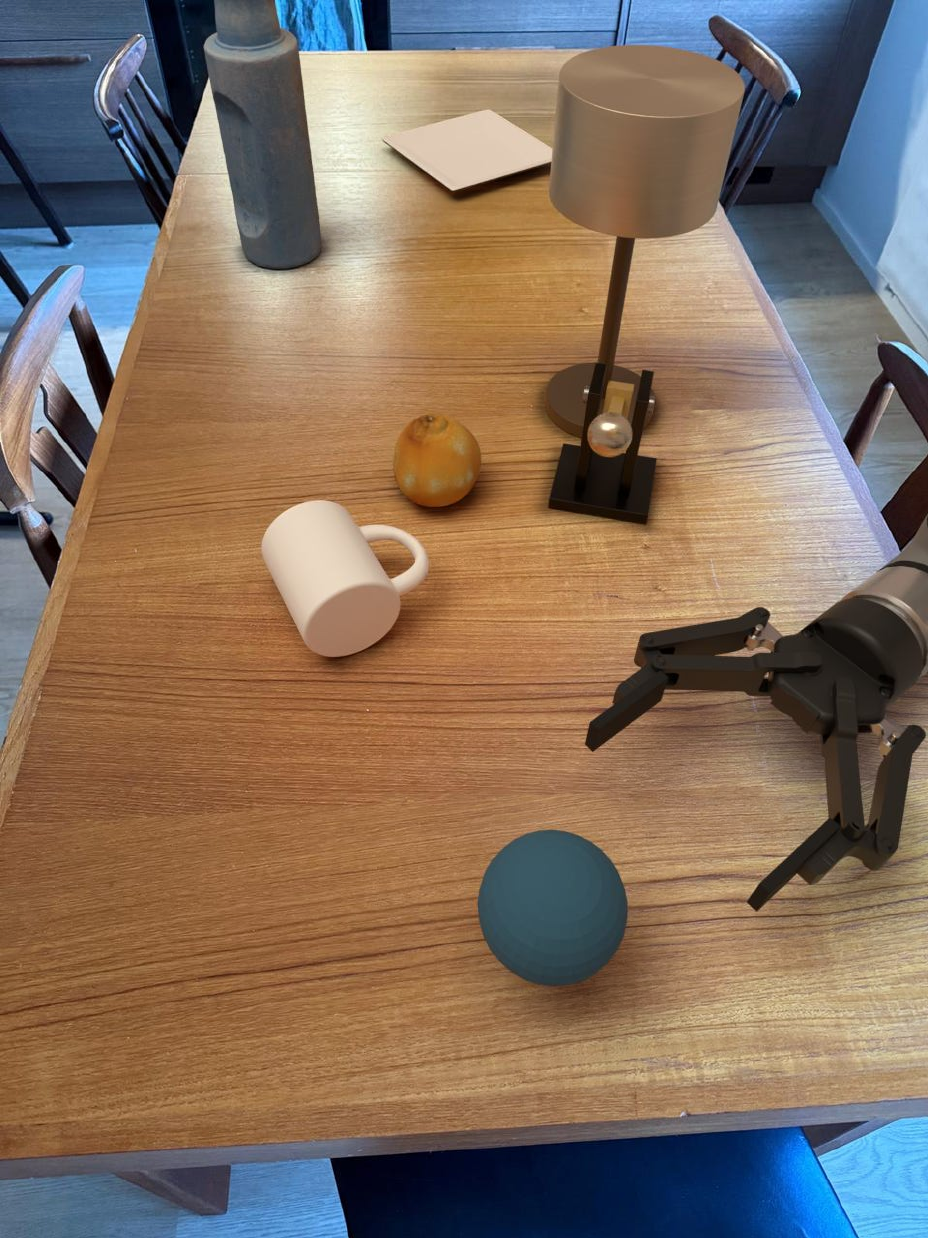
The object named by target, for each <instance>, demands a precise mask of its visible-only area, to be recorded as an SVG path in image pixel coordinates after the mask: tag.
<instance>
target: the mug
mask: <svg viewBox="0 0 928 1238" xmlns="http://www.w3.org/2000/svg"><path fill="white" fill-rule="evenodd" d="M381 541H393V542H396V543H399V544H400V545H402V546H403V547H404V548H405V549H406V550H408V551H409V552H410V554H411V555H412V557H413V558H414V563H413V564H412V566H410V567H409V568H408V569H407V570H405V571H404V572H402V573H401V574H399V575H397V576H394V577H393V578H389V576H388V574H387V572H386V571H385V570H384V568H383V566H382V564H381V563H380V561H379V559H378V558H377V556H376V555H375V553H374V551H373V549H372V548H371V546H370V545H369V544H370V543H375V542H381ZM260 551H261V557H262V559H263V562H264V563H265V566H266V568H267V570H268V571H269V574H270V576H271V578H272V580H273V582H274V584H275V586H276V587H277V590H278V591H279V594H280V596H281V599H282V600H283V602H284V604H285V606H286V608H287V610H288V612H289V614H290V616H291V618H292V620H293V622H294V624H295V627H296V628H297V630H298V632H299V635H300V637H301V638H302V640H303V643H304V644H305V646H306V647H307V648H308V649H309V650H310V651H311V652H313V653H314V654H316V655H319V656H322V657H328V658H329V657H330V658H337V657H338V658H339V657H346V656H350V655H353V654H356V653H359V652H361V651H363V650H365V649H368V648H369V647H371V646H372V645H374V644H376V643H377V642H379V641H380V640H381V639H383V637H384V636H385V635H387V634H388V633H389V631H390V630H391V629H392V628H393V626H394V625H395V624H396V621H397V620H398V618H399V615H400V612H401V605H402V604H401V598H400V597H401V596H403V595H405V594H407V593H410V592H411V591H413V590H414V589H416V588H417V587H419V586H420V585H421V584H422V583H423V582H424V580H425V579H426V578H427V576H428V574H429V570H430V560H429V556H428V553H427V551H426V549H425V547H424V546H423V544H422V543H421V542H420V541H419V540H418V539H417V538H416V537H415V536H413V534H411V533H409V532H407V531H405V530H403V529H400V528H399V527H395V526H391V525H386V524H368V525H367V524H366V525H362V526H358V525H357V523H356V521H355V520H354V518H353V517H352V515H351V513H350V512H349V511H348V509H347V508H345V507H344V506H342V505H341V504H339V503H337V502H335V501H331V500H324V499H323V500H322V499H317V500H309V501H305V502H302V503H299V504H296V505H294V506H292V507H290V508H288V509H286V510H285V511H283V512H282V513H280V514H279V515H278V516H277V517H276V518H274V520H273V521H272V522H271V523H270V524H269V526H268V527H267V528H266V530H265V533H264V534H263V537H262V539H261V545H260Z"/></svg>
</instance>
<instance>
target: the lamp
mask: <svg viewBox="0 0 928 1238" xmlns="http://www.w3.org/2000/svg"><path fill="white" fill-rule="evenodd" d="M745 85H746V84H745V82H744V79H743V78H742V76H741V75H740V74H739V73H738V72H737V70H735V69H734V68H732V67H731V66H729V65H727V63H724V62H723V61H720V60H718V59H715V58H713V57H711V56H708V55H706V54H702V53H699V52H696V51H691V50H687V49H682V48H677V47H671V46H665V45H664V46H662V45H651V44H621V45H611V46H604V47H599V48H595V49H591V50H587V51H584V52H582V53H581V52H580V53H578V54H577V55H574V56H572V57H571V58H570V59H568V60H567V61H566V62H564V64H563V65H562V66H561V68H560V70H559V74H558V84H557V95H556V104H555V106H556V107H555V118H554V128H553V129H554V130H553V141H552V149H553V150H552V161H551V164H550V175H549V185H548V186H549V187H548V197H549V200H550V202H551V204H552V206H553V208H554V209H556V211H557V212H558V213H559V214H560V215H562V216H563V217H564V218H566V219H567V220H569V221H570V222H571V223H574V224H576V225H578V226H580V227H583V228H584V229H588V230H590V231H594V232H597V233H600V234H604V235H608V236H612V237H616V239H615V245H614V252H613V257H612V258H613V259H612V264H611V271H610V280H609V284H608V292H607V297H606V303H605V311H604V318H603V324H602V330H601V337H600V343H599V351H598V357H597V362H583V363H577V364H574V365H571V366H568V367H565V368H563V369H561V370H559V371H558V372H556V373H555V374H554V375H553V376H552V377H551V378H550V380H549V381H548V383H547V386H546V390H545V396H544V397H545V398H544V408H545V411H546V413H547V415H548V417H549V419H550V420H551V421H552V422H553V423H554V425H556V426H557V427H558V428H559V429H561V430H563V431H564V432H565V433H567V434H570V435H572V436H574V437H577V438H580V439H581V438H582V431H583V425H584V418H585V411H586V404H587V403H582V398H583V392H584V387H585V386H589V387H590V383H591V379H592V375H593V371H594V367H595V363H601V364H607V368H606V374H605V380H604V386H603V392H602V399H601V405H600V411H599V415H601V414H602V412H603V407H604V401H605V396H606V390H607V386H608V382H609V381H615V382H621V383H628V384H634V390H633V396H632V401H631V406H630V411H629V416H628V419H627V420H628V422H629V423H630V425H631V424H632V419H633V414H634V409H635V404H636V399H637V394H638V389H639V384H640V379H641V375H639V374H638V373H636V372H635V371H632V370H630V369H628V368H626V367H623V366H620V365H617V364H615V360H616V355H617V348H618V342H619V337H620V330H621V325H622V319H623V314H624V313H623V312H624V308H625V307H624V306H625V301H626V295H627V290H628V283H629V279H630V271H631V265H632V260H633V254H634V248H635V242H636V239H643V240H645V239H646V240H647V239H649V240H650V239H665V238H672V237H676V236H681V235H684V234H688V233H690V232H693V231H696V230H698V229H700V228H701V227H703V226H704V225H706V224H707V223H709V222H710V221H711V219H712V218H713V217H714V216H715V214H716V212H717V209H718V205H719V202H720V201H719V200H720V198H721V197H720V196H721V193H722V189H723V185H724V180H725V176H726V172H727V167H728V162H729V159H730V154H731V150H732V146H733V142H734V138H735V134H736V129H737V125H738V120H739V117H740V112H741V108H742V103H743V99H744V95H745V91H746V86H745ZM650 396H655V397H656V395H655V392H654V389H653V388H652V387H651V393H650ZM655 406H656V401H655V402H654V407H653V412H652V413H647V414H646V418H645V423H644V428H643V430H645V429H646V427H647V426H649V424H650V422H651V420H652V418H653V414H654V410H655Z"/></svg>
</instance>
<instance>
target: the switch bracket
mask: <svg viewBox="0 0 928 1238" xmlns="http://www.w3.org/2000/svg"><path fill="white" fill-rule="evenodd" d="M594 363H595V367H594V371H593V375H592V379H591V383H590V387H589V386H585V387H584V392H583V398H582V403H587V404H586V411H585V418H584V425H583V431H582V438H580V445H577V444H571V443H565V442H563V444H562V446H561V450H560V454H559V459H558V461H557V466H556V470H555V474H554V478H553V482H552V486H551V490H550V494H549V497H548V505H547V508H548V509H553V510H559V511H563V512H564V511H565V512H569V513H577V514H582V515H588V516H592V517H593V516H594V517H598V518H599V517H600V518H604V519H605V518H606V519H611V520H615V521H616V520H617V521H623V522H629V523H634V524H639V525H645V526H646V525H647V523H648V519H649V514H650V513H649V512H650V507H651V502H652V500H651V499H652V495H653V487H654V481H655V475H656V474H655V473H656V468H657V462H658V460H657V459H658V458H657V457H652V456H646V455H640V454H639V451H640V446H641V441H642V437H643V432H644V429H645V428H644V423H645V418H646V414H647V413H652V412H653V413H654V411H653V407H654V408H655V406H654V402H655V403H656V395H655V396H650V393H651V388H652V386H653V381H654V380H653V379H654V374H655V371H654V370H648V369H642V370H641V374H640V376H641V379H640V384H639V389H638V394H637V399H636V404H635V409H634V414H633V419H632V424H631V428H632V440H631V443H630V445H629V447H628V448H627V449H626V450H625V452H623V453H622V454H620V455H618V456H616V457H603V456H600V455H598V454H597V453H595V452H594V451H593V450H592V448H591V447H590V445H589V442H588V436H587V434H588V429H589V426H590V424H591V422H592V421H593V420H594V419H595V418H596V417H597V416H599V411H600V405H601V399H602V392H603V386H604V380H605V374H606V368H607V364H601V363H597V362H594ZM643 428H644V429H643Z"/></svg>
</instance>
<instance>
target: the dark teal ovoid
mask: <svg viewBox="0 0 928 1238" xmlns="http://www.w3.org/2000/svg"><path fill="white" fill-rule="evenodd" d="M628 906H629V903H628V897H627V891H626V888H625V884H624V883H623V880H622V877H621V875H620V873H619V871H618V868H617V867H616V866H615V864H614V862H613V861H612V859H610V857H609V856H608V855H607V854H606V853H605V852H604V851H603V850H602V848H600V847H599V846H597V845H596V844H594V843H593V842H592V841H591V840H589V839H588V838H584V836H583V837H582V836H581V835H579V834H576V833H574V832H573V833H572V832H570V831H566V830H559V829H540V830H535V831H530V832H528V833H524V834H523V835H520V836H518V837H516V838H514V839H513V840H511V841H509V843H508V844H506V845H505V846H504V847H502V848H501V849H500V850H499V851H498V853H496V855H495V856H494V857H492V859H491V861H490V862H489V864H488V866H487V868H486V869H485V871H484V874H483V877H482V880H481V883H480V886H479V889H478V898H477V912H478V922H479V924H480V930H481V932H482V936H483V938H484V940H485V942H486V944H487V946H488V948H489V950H490V952H491V953H492V954H493V955H494V956H495V958H496V959H497V960H498V962H499V963H500V964H501V965H502V966H504V967H505V968H506V969H507V970H508V971H510V973H512V974H514V975H515V976H518V977H519V978H521V979H522V980H524V981H527V982H530V983H533V984H536V985H539V986H546V987H547V986H548V987H563V986H571V985H574V984H577V983H581V982H585V981H586V980H587V979H589V978H592V977H593V976H595V975H596V974H597V973H598V972H600V971H601V970H602V969H603V968H605V967H606V966H607V964H608V963H609V962H610V961H611V959H612V958H613V957H614V955H616V953H617V951H618V950H619V948H620V946H621V943H622V941H623V939H624V937H625V932H626V929H627V923H628V916H629V914H628V910H629V909H628Z"/></svg>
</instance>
